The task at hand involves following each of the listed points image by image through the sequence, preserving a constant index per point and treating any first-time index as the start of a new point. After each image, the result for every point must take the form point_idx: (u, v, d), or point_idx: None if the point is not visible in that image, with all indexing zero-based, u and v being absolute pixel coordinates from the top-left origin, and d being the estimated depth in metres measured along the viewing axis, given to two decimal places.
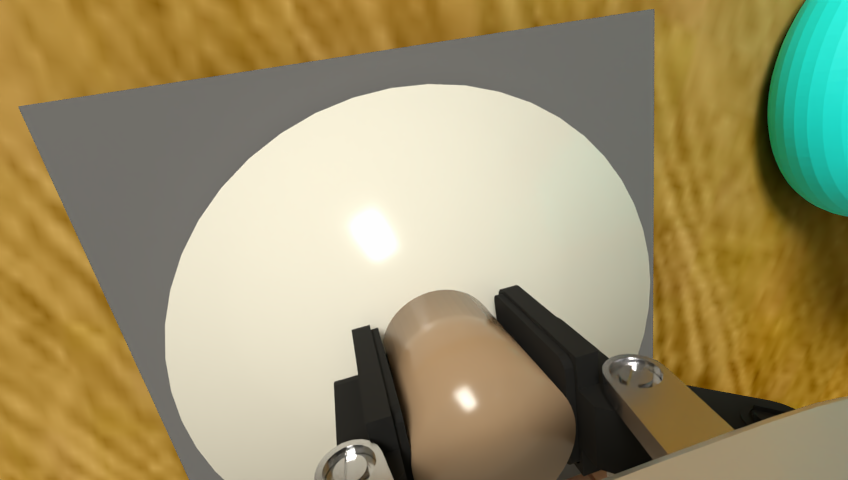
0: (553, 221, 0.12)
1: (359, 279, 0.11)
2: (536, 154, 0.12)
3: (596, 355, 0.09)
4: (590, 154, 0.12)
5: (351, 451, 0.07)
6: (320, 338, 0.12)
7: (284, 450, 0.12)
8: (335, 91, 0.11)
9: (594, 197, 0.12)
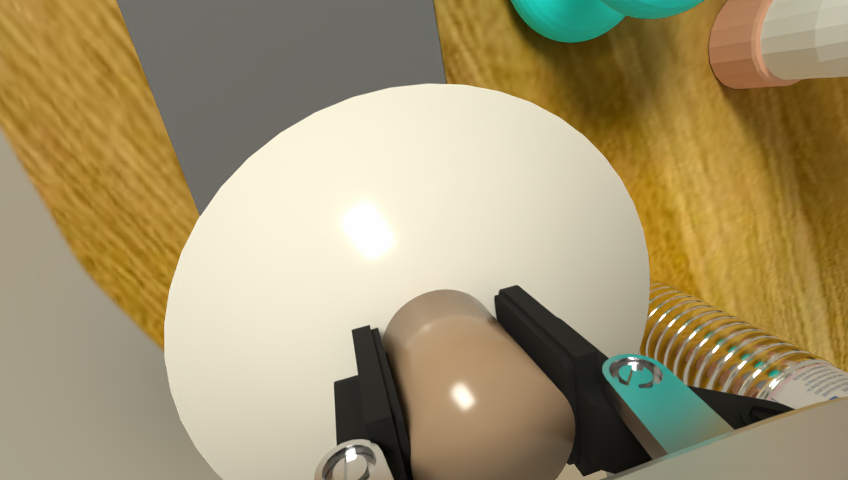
0: (553, 221, 0.12)
1: (358, 278, 0.11)
2: (535, 153, 0.12)
3: (596, 355, 0.09)
4: (590, 154, 0.12)
5: (351, 451, 0.07)
6: (319, 338, 0.12)
7: (283, 450, 0.12)
8: None
9: (594, 197, 0.12)
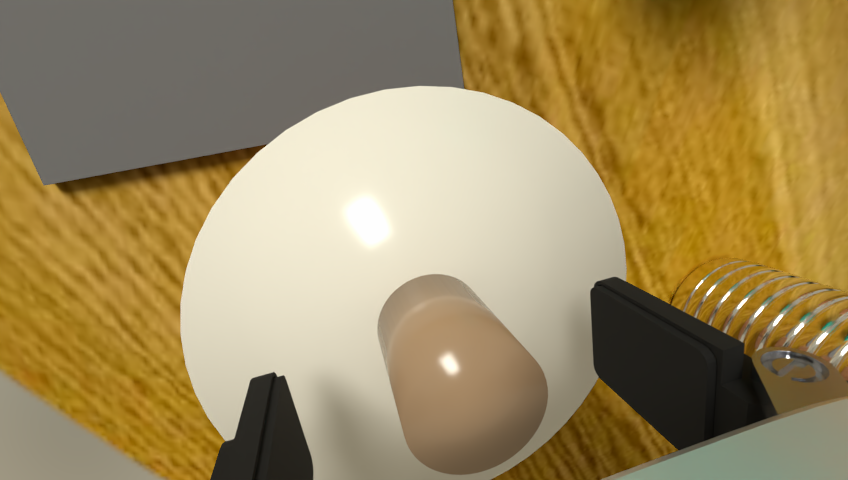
0: (534, 212, 0.13)
1: (356, 263, 0.13)
2: (517, 149, 0.13)
3: (742, 348, 0.08)
4: (568, 150, 0.13)
5: None
6: (320, 318, 0.13)
7: None
8: None
9: (572, 190, 0.14)
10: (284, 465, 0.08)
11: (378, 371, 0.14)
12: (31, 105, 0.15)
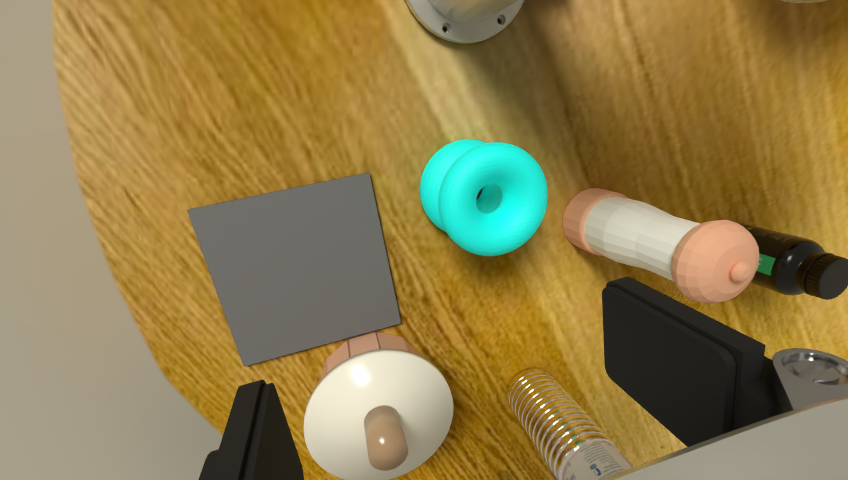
0: (415, 384, 0.41)
1: (356, 404, 0.40)
2: (408, 367, 0.40)
3: (762, 350, 0.08)
4: (425, 365, 0.41)
5: None
6: (345, 421, 0.40)
7: (334, 453, 0.41)
8: (269, 202, 0.39)
9: (428, 376, 0.41)
10: (270, 477, 0.08)
11: (364, 436, 0.41)
12: (242, 341, 0.42)
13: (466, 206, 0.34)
